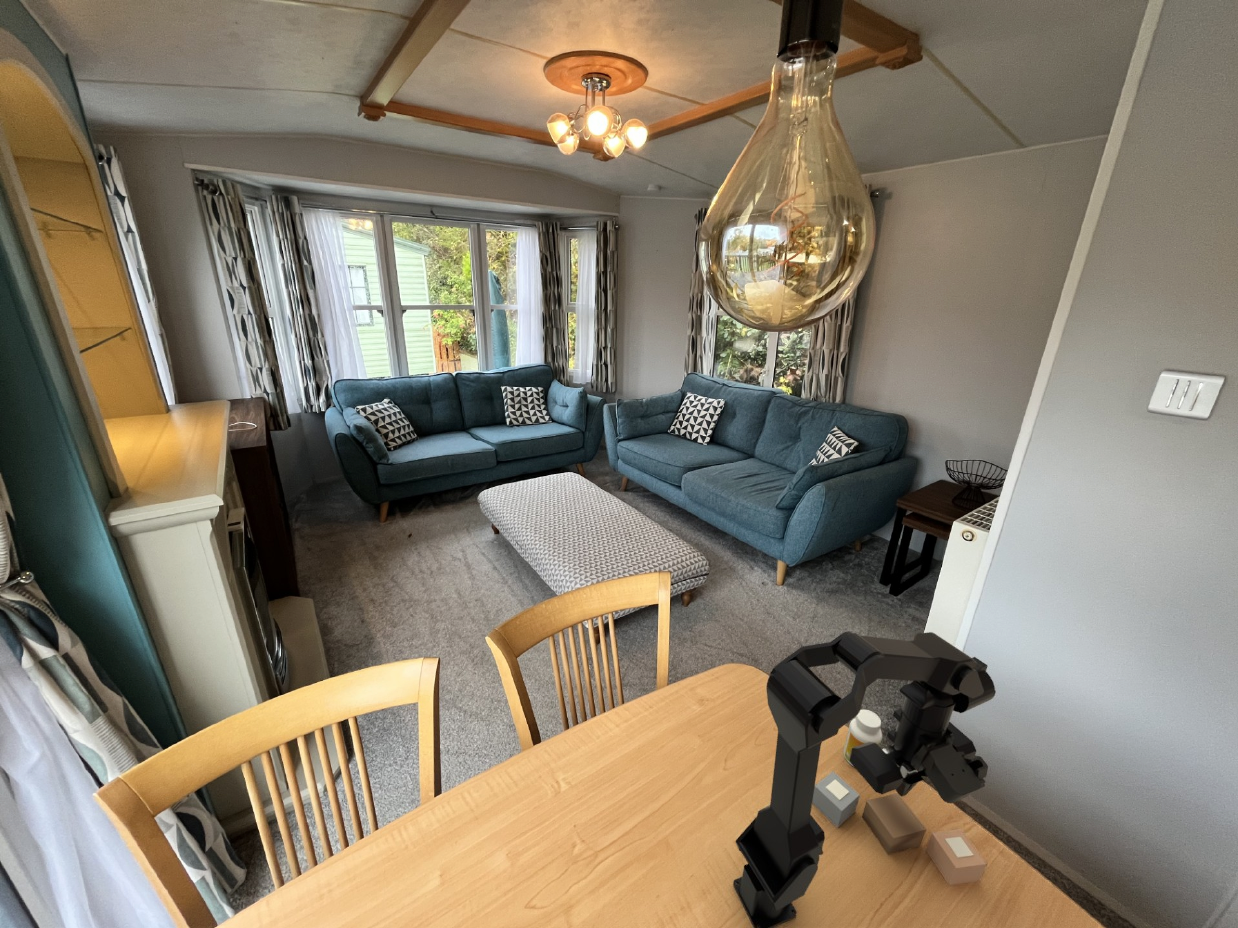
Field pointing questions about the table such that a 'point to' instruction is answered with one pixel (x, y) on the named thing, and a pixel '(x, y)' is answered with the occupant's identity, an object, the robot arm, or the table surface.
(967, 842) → the tan cream-patch box
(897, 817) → the walnut block
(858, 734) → the supplement bottle
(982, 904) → the table surface
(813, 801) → the grey cream-patch block
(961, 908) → the table surface
